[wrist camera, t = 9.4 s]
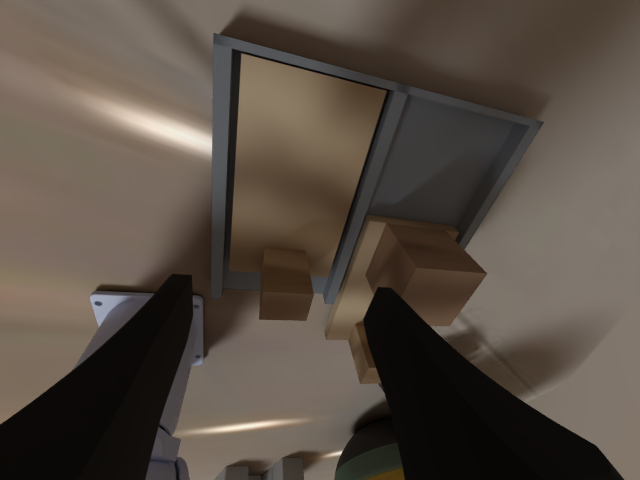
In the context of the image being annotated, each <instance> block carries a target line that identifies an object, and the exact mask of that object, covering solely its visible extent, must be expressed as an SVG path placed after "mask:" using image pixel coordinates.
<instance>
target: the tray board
mask: <svg viewBox="0 0 640 480" xmlns="http://www.w3.org/2000/svg"><path fill="white" fill-rule="evenodd" d="M242 53H244V54H248V55H252V56H255V57H259V58H263V59H267V60H271V61H275V62H279V63H283V64H286V65H290V66H294V67H298V68H302V69H306V70H310V71H313V72H317V73H321V74H325V75H329V76H333V77H337V78H340V79H344V80H348V81H352V82H356V83H360V84H364V85H368V86H371V87H375V88H379V89H382V90H385V91H387V92H386V95H385V98H384V101H383V105H382V108H381V111H380V114H379V117H378V121H377V124H376V127H375V130H374V133H373V136H372V140H371V143H370V146H369V149H368V152H367V156H366V159H365V162H364V165H363V168H362V171H361V175H360V178H359V181H358V184H357V187H356V190H355V194H354V197H353V200H352V203H351V206H350V210H349V213H348V216H347V219H346V222H345V225H344V229H343V232H342V235H341V238H340V241H339V245H338V248H337V251H336V254H335V257H334V260H333V264H332V267H331V270H330V273H329V276H328V277H315V276H311V281H312V287H313V292H314V293H321V294H323V297H324V301H325V304H334V302H335V299H336V296H337V294H338V291H339V289H340V286H341V283H342V280H343V277H344V275H345V272H346V269H347V266H348V263H349V260H350V258H351V255H352V252H353V249H354V246H355V243H356V241H357V238H358V235H359V232H360V229H361V227H362V224H363V221H364V218H365V215H366V214H368V215H376V216H383V217H391V218H398V219H406V220H414V221H421V222H429V223H436V224H444V225H451V226H453V227H454V228H455V229H456V230H457V231H458V232H459V234H458V235H457V237H456V239H455V241H456V242H457V243H458V244H459V245H460V246H461V247H462V248H463V249H464V250H465V248H466V246H467V245H468V243H469V241H470V240H471V238H472V237H473V235H474V233H475V232H476V230H477V229H478V227H479V225H480V224H481V222H482V221H483V219H484V217H485V216H486V214H487V213H488V211H489V209H490V208H491V206H492V205H493V203H494V201H495V200H496V198H497V197H498V195H499V193H500V192H501V190H502V189H503V187H504V185H505V184H506V182H507V181H508V179H509V177H510V176H511V174H512V173H513V171H514V169H515V168H516V166H517V164H518V163H519V161H520V160H521V158H522V156H523V155H524V153H525V152H526V150H527V148H528V147H529V145H530V144H531V142H532V140H533V139H534V137H535V136H536V134H537V132H538V131H539V129H540V128H541V126H542V124H543V123H544V122H542V121H538V120H534V119H531V118H527V117H523V116H520V115H516V114H512V113H508V112H505V111H501V110H497V109H494V108H490V107H486V106H482V105H479V104H475V103H471V102H468V101H464V100H460V99H456V98H453V97H449V96H445V95H442V94H438V93H434V92H431V91H427V90H423V89H419V88H416V87H412V86H408V85H405V84H401V83H397V82H393V81H390V80H386V79H382V78H379V77H375V76H371V75H368V74H364V73H360V72H356V71H353V70H349V69H345V68H342V67H338V66H334V65H330V64H327V63H323V62H319V61H316V60H312V59H308V58H304V57H301V56H297V55H293V54H290V53H286V52H282V51H279V50H275V49H271V48H267V47H264V46H260V45H256V44H253V43H249V42H245V41H241V40H238V39H234V38H230V37H227V36H223V35H219V34H216V33H214V42H213V137H212V233H211V299H222V294H223V289H224V288H225V289H244V290H260V287H261V273H256V272H241V271H229V265H230V248H231V230H232V212H233V195H234V177H235V159H236V142H237V124H238V106H239V89H240V71H241V54H242Z"/></svg>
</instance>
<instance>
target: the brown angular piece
mask: <svg viewBox="0 0 640 480" xmlns="http://www.w3.org/2000/svg"><path fill="white" fill-rule="evenodd" d="M386 223H389V224H397V225H405V226H413V227H421V228H429V229H437V230H445V231H446V232H447V233H448V234H449V235H450V236H451V237H452V238H453V239H454V240H455V239H456V237H457V235H458V234H459V232H458V231H457V230H456V229H455V228H454V227H453V226H451V225H444V224H436V223H429V222H421V221H414V220H406V219H398V218H391V217H383V216H376V215H368V214H366V215H365V218H364V221H363V224H362V227H361V229H360V232H359V235H358V238H357V241H356V243H355V246H354V249H353V252H352V255H351V258H350V260H349V263H348V266H347V269H346V272H345V275H344V277H343V280H342V283H341V286H340V289H339V291H338V294H337V297H336V300H335V303H334V306H333V308H332V311H331V314H330V317H329V320H328V322H327V325H326V328H325V331H324V332H325V337H326V340H348V341H349V345H350V348H351V352H352V356H353V359H354V363H355V367H356V370H357V374H358V378H359V381H360V384H370V383H381V381H380V378H379V375H378V372H377V369H376V367H375V364H374V361H373V358H372V355H371V352H370V349H369V346H368V342H367V338H366V333H365V328H364V322H363V318H364V316H365V314H366V312H367V310H368V307H369V305H370V303H371V301H372V299H373V296H374V295H373V292H372V290H371V287H370V285H369V283H368V280H367V278H366V276H365V274H366V272H367V269H368V267H369V265H370V262H371V260H372V257H373V255H374V252H375V250H376V247H377V245H378V242H379V240H380V238H381V235H382V233H383V230H384V228H385V225H386Z"/></svg>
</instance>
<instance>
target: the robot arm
mask: <svg viewBox="0 0 640 480" xmlns="http://www.w3.org/2000/svg"><path fill="white" fill-rule="evenodd" d="M90 301H91V304H92V307H93V310H94V313H95V316H96V320H97V323H98V326H99V328H98V330H97V332H96V333H95V335H94V336H93V338H92V340H91V341H90V343H89V345H88V346H87V348H86V349H85V351H84V353H83V354H82V356H81V358H80V359H79V361H78V362H77V364H76V366H75V367H74V369H73V370H72V371H71V372H70V373H69V374H67V375H66V376H65V377H64V378H62V379H61V380H60V381H59V382H57V383H56V384H55V385H53V386H52V387H51V388H49V389H48V390H47V391H45V392H44V393H43V394H42V395H40V396H39V397H38V398H36V399H35V400H34V401H32V402H31V403H30V404H28V405H27V406H26V407H24V408H23V409H21V410H20V411H19V412H17V413H16V414H14V415H13V416H12V417H10V418H9V419H7V420H6V421H5V422H3V423H2V424H0V480H190V478H189V472H188V468H187V464H186V462H185V460H184V459H182V458H181V457H177V454H178V450H179V446H180V441H181V440H180V439H179V438H175V437H172V435H173V433H174V431H175V429H176V426H177V423H178V419H179V415H180V411H181V407H182V403H183V399H184V395H185V390H186V386H187V382H188V378H189V374H190V370H191V366H192V365H201V364H203V361H204V332H203V298H202V297H201V296H197V295H193V293H192V275H179V274H172V275H171V276H170V277H169V278H168V279H167V280H166V281H165V282H164V284H163V285H162V286H161V287H160V288H159V289H158V290H157V291H156V293H132V292H110V291H94V292H93V293H92V294H91V295H90ZM99 301H100V302H99ZM197 305H198V306H197ZM363 322H364V328H365V333H366V338H367V342H368V346H369V349H370V352H371V355H372V358H373V361H374V364H375V367H376V369H377V372H378V375H379V378H380V381H381V384H382V387H383V390H384V393H385V396H386V399H387V402H388V406H389V409H390V413H391V417H392V421H393V426H394V430H395V434H396V438H397V443H398V448H399V452H400V457H401V462H402V467H403V472H404V477H405V480H624V479H623V478H622V476H621V475H620V474H619V473H618V472H617V470H616V469H615V468H614V467H613V465H612V464H611V463H610V462H609V460H608V459H607V458H606V457H605V456H604V454H603V453H602V452H601V451H600V450H599V448H598V447H597V446H596V445H594V444H592V443H591V442H589V441H587V440H585V439H584V438H582V437H580V436H579V435H577V434H575V433H573V432H571V431H570V430H568V429H566V428H565V427H563V426H561V425H560V424H558V423H556V422H554V421H553V420H551V419H549V418H548V417H546V416H545V415H543V414H542V413H540V412H539V411H537V410H535V409H534V408H532V407H531V406H529V405H528V404H526V403H525V402H523V401H522V400H520V399H519V398H517V397H516V396H514V395H513V394H511V393H510V392H509V391H507V390H506V389H504V388H503V387H502V386H500V385H499V384H497V383H496V382H495V381H493V380H492V379H491V378H489V377H488V376H487V375H485V374H484V373H483V372H481V371H480V370H479V369H478V368H476V367H475V366H474V365H473V364H471V363H470V362H469V361H468V360H467V359H465V358H464V357H463V356H462V355H461V354H459V353H458V352H457V351H456V350H455V349H454V348H453V347H452V346H450V345H449V344H448V343H447V342H446V341H445V340H444V339H443V338H442V337H441V336H439V335H438V334H437V333H436V332H435V331H434V330H433V329H432V328H431V327H430V326H429V325H428V324H427V323H426V322H425V321H424V320H423V319H422V318H421V317H420V316H419V315H418V314H417V313H416V312H415V311H414V310H413V309H412V308H411V307H410V306H409V305H408V304H407V303H406V302H405V301H404V300H403V299H402V298H401V297H400V296H399V295H398V294H397V293H396V292H395V291H394V290H393V289H392V288H390V287H378V288H377V290H376V292H375V294H374V296H373V299H372V301H371V303H370V305H369V307H368V310H367V312H366V314H365V316H364V318H363Z"/></svg>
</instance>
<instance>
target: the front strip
mask: <svg viewBox="0 0 640 480" xmlns="http://www.w3.org/2000/svg"><path fill="white" fill-rule="evenodd" d="M386 92H387V91H385V90H382V89H379V88H375V87H371V86H368V85H364V84H360V83H356V82H352V81H348V80H344V79H340V78H337V77H333V76H329V75H325V74H321V73H317V72H313V71H310V70H306V69H302V68H298V67H294V66H290V65H286V64H283V63H279V62H275V61H271V60H267V59H263V58H259V57H255V56H252V55H248V54H244V53H242V54H241V71H240V89H239V106H238V124H237V142H236V159H235V177H234V195H233V212H232V230H231V248H230V265H229V271H241V272H256V273H261V287H260V314H259V319H260V320H299V321H306V320H307V316H308V313H309V309H310V306H311V302H312V299H313V296H314V292H313V287H312V281H311V276H315V277H328V276H329V273H330V270H331V267H332V264H333V260H334V257H335V254H336V251H337V248H338V245H339V241H340V238H341V235H342V232H343V229H344V225H345V222H346V219H347V216H348V213H349V210H350V206H351V203H352V200H353V197H354V194H355V190H356V187H357V184H358V181H359V178H360V175H361V171H362V168H363V165H364V162H365V159H366V156H367V152H368V149H369V146H370V143H371V140H372V136H373V133H374V130H375V127H376V124H377V121H378V117H379V114H380V111H381V108H382V105H383V101H384V98H385V95H386Z"/></svg>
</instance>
